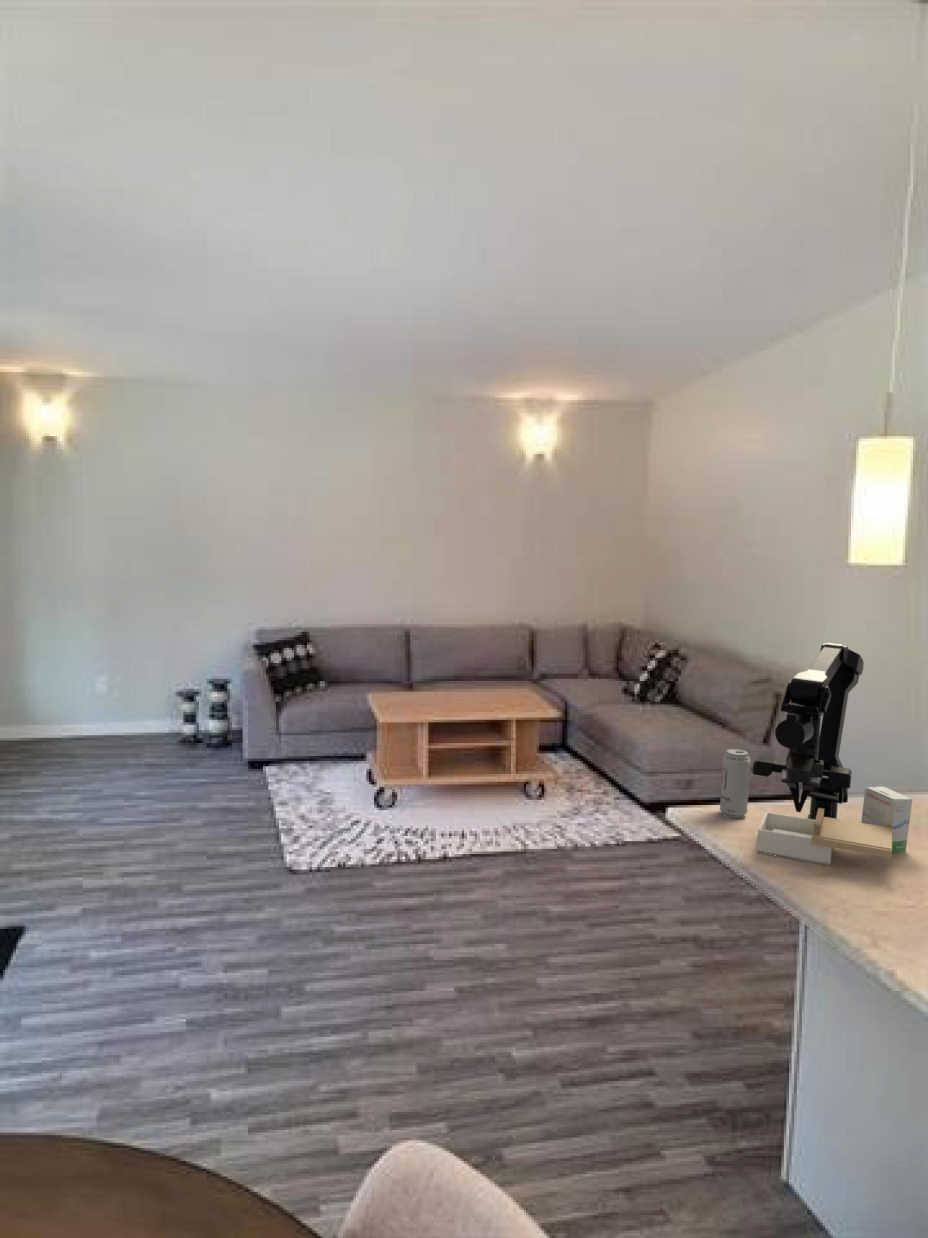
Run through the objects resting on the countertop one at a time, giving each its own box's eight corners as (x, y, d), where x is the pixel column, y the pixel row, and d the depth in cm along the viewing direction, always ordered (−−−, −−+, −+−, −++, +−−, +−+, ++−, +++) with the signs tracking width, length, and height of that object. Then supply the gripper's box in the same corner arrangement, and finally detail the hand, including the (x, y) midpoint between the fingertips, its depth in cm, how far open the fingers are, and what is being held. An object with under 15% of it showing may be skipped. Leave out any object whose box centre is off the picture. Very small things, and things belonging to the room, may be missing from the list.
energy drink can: (716, 810, 206) (720, 748, 204) (741, 810, 206) (745, 748, 204) (724, 819, 200) (728, 755, 198) (750, 819, 200) (755, 755, 198)
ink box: (858, 839, 190) (863, 786, 188) (877, 837, 191) (882, 785, 190) (888, 854, 182) (893, 799, 180) (908, 852, 183) (913, 798, 182)
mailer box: (764, 833, 192) (765, 811, 191) (833, 846, 186) (835, 823, 185) (756, 852, 181) (758, 829, 180) (829, 866, 175) (831, 842, 174)
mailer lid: (816, 821, 188) (817, 805, 187) (891, 834, 181) (892, 817, 181) (811, 844, 175) (812, 826, 175) (891, 858, 169) (892, 840, 168)
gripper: (751, 741, 177) (746, 815, 179) (852, 754, 169) (845, 832, 171) (758, 729, 187) (753, 799, 189) (854, 741, 179) (848, 815, 181)
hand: (798, 811), depth 182 cm, fingers closed
